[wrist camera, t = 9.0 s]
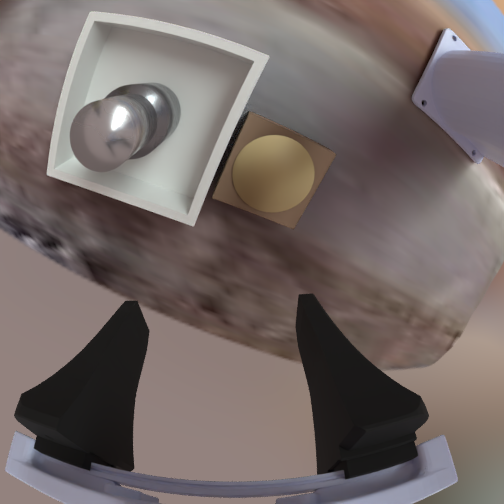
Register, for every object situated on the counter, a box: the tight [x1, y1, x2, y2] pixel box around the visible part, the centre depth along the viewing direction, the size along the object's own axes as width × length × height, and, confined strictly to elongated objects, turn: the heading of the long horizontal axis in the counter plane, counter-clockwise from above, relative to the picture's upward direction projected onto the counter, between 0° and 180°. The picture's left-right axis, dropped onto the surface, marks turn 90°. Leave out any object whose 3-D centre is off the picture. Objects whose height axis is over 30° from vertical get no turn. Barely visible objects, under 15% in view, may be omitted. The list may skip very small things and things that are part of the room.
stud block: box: [212, 111, 336, 229], centre depth 18 cm, size 6×6×2 cm
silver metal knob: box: [70, 83, 181, 172], centre depth 13 cm, size 4×4×7 cm
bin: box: [47, 11, 270, 227], centre depth 15 cm, size 11×11×3 cm
